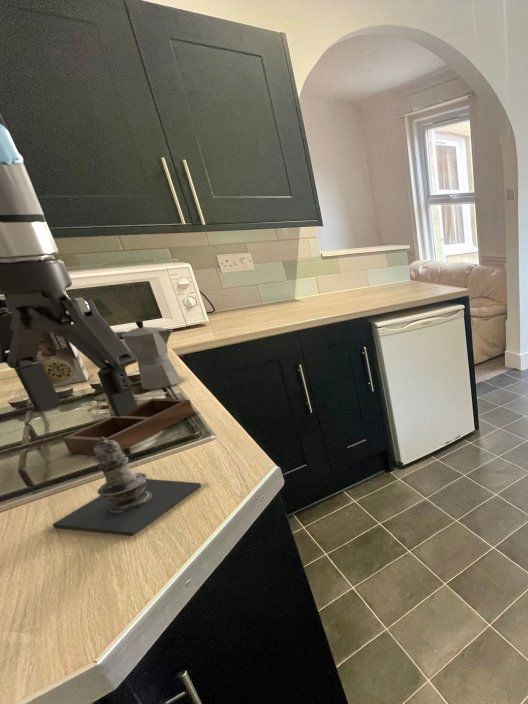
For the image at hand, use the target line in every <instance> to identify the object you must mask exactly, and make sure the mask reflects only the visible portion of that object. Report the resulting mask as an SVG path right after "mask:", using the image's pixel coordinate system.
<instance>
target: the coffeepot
mask: <svg viewBox="0 0 528 704" xmlns="http://www.w3.org/2000/svg"><path fill="white" fill-rule="evenodd" d="M134 323H135V324H136V326H137V328H132V329H133V330H131V329H130V330H128V331H125V330H124V331H123V330H122V332H115V334H116V335H117V336H118V337H119V338H120V339H124V341H125V343H126V344H127V346H128V348H129V349H130V351H131V353H132V354H133V356H134V357H135V358H136V359H137V361H136V362H137V368H138V372H139V378H140V384H141V388H142V389H143V390H158V389H159V390H160V389H164V388H167V387H168V388H169V387H171V386H174V385H177V384H179V383H180V382H181V381H182V378H181V376H180V375H179V373H178V372H177V370H176V368H175V366H174V364H173V363H172V361H171V359H170V357H169V355H168V353H169V352H168V351H169V350H168V345H167V344H168V342H169V338H170V337H171V334H172V333H173V332H174V330H173V329H172V328H163V327H161V326H160V327H159V326H157V327H156V326H144V321H143V320H135V322H134ZM120 357H121V358H122V356H120Z"/></svg>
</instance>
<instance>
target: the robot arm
mask: <svg viewBox="0 0 528 704" xmlns="http://www.w3.org/2000/svg"><path fill="white" fill-rule="evenodd" d="M37 196H38V195H37V194H36V191H35V189H34V186H33V183H32V181H31V179H30V176H29V173H28V171H27V168H26V166H25V163H24V158H23V156H22V154H21V153H19V151H18V149H17V147H16V145H15V143H14V141H13V138H12V136H11V134H10V132H9V130H8V129H7V128H6V127H5V126H4V125H3V124H2V123H0V365H1V364H6V365H7V366H8V367H9V368H10V369H14V371H15V373H16V375H17V377H18V379H19V381H20V383H21V385H22V386H23V388H24V390H25V393H26V394H27V397H28V398H29V400H30V403H31V404H32V407H33V408H34V410H35V412H44V411H46V410H48V409H52V408H54V407H56V406H60V405H61V404H62V402H61V400H60V397H59V396H58V393H57V390H56V389H55V387H53V385H52V383H51V381H50V379H49V376H48V374H47V372H46V370H45V368H44V366H43V364H42V363H36V364H32V363H34V362H38V361H41V359H40V358H38V357H37V353H38V349H39V346H40V342H41V338H42V334H43V331H45V332H48V333H54V334H55V335H57V336H60V337H64V338H65V339H67V340H68V341H69V342H70V343H71V344H72V345H73V346H75V347H76V348H77V351H78V352H80V353H81V354H83V355H84V357H86V358H87V359H88V360H89V361H90V362H91V363H92V364H94V365H95V366H96V367H97V368H98V369H99V370H98V372H97V373H96V374H97V376H98V378H99V381H100V383H101V385H102V388H103V390H104V393H105V395H106V397H107V400H108V402H109V404H110V406H111V410H112V411H113V414H114V415H115V416H116V417H121V416H124V415H126V414H128V413H130V412H132V411H135V410H137V409H139V408H138V405H139V404H138V403H137V401H136V398H135V395H134V393H133V391H132V390H133V386H132V384H131V381H130V378H129V375H128V373H127V371H126V367H128V366H130V365H133V364H136V362H137V361H136V358H135V357H134V356H133V354H132V353H131V352H130V351H129V349H128V348H127V347H126V346H125V345H124V343H123V342H122V341H121V340H120V338H119V337H118V336H117V335H116V334H115V332H114V329H113V328H112V327H111V326H110V325H109V324H108V322H107V321H106V320H105V318H103V316H102V315H101V314H100V313H99V311H98V309H97V307H96V305H95V303H94V300H93V299H92V297H90V296H88V295H84V296H79V297H74V298H71V297H70V296H69V295H68V293H67V292H66V289H68V288H70V287H72V285H73V282H72V278H71V276H70V273H69V271H68V269H67V267H66V264H65V262H64V260H62V259H60V258H55V256H54V255H57V254H59V249H58V246H57V244H56V242H55V240H54V237H53V234H52V232H51V230H50V227H49V225H48V224H47V223H48V222H47V219H46V217H45V214H44V212H43V210H42V206H41V203H40V202H39V199H38V197H37ZM120 356H122V358H121V357H120ZM38 359H40V360H38ZM106 361H108V363H107V362H106Z"/></svg>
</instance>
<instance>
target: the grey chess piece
mask: <svg viewBox="0 0 528 704" xmlns="http://www.w3.org/2000/svg"><path fill="white" fill-rule="evenodd" d="M100 440H101V442H100V443H98V444H97V445H96V446H95V447H94V452H95V455H94V456H95V457H96V458H97V461H98V464H99V465H98V466H97V470H100V471H102V473H103V475H104V477H105V482H104V483H103V484H102V485H101V486H100V487H99V488H98V489H97V493H98V495H99V496H103V497H104V498H105V499H106V500H108V501H110V502H114V503H112V504H111V506H110V507H109V510H110V512H112V513H122V512H126V511H130V510H133V509H135V508H138V507H140V506H142V505H143V504H145V503H146V502H148V501H149V500H150V499H151V497H152V494H151V492H148V491H143V490H144V489H145V487H146V479H148V478H147V476H148V475H147V474H145V473H144V472H133V471H132V470H131V468H130V465H129V463H128V461H129V457H128V456H125V455H124V453H123V451H121V449H120V446H119V444H118V443H117V442H116V441H112V440H105V438H104V437H101V438H100Z"/></svg>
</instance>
